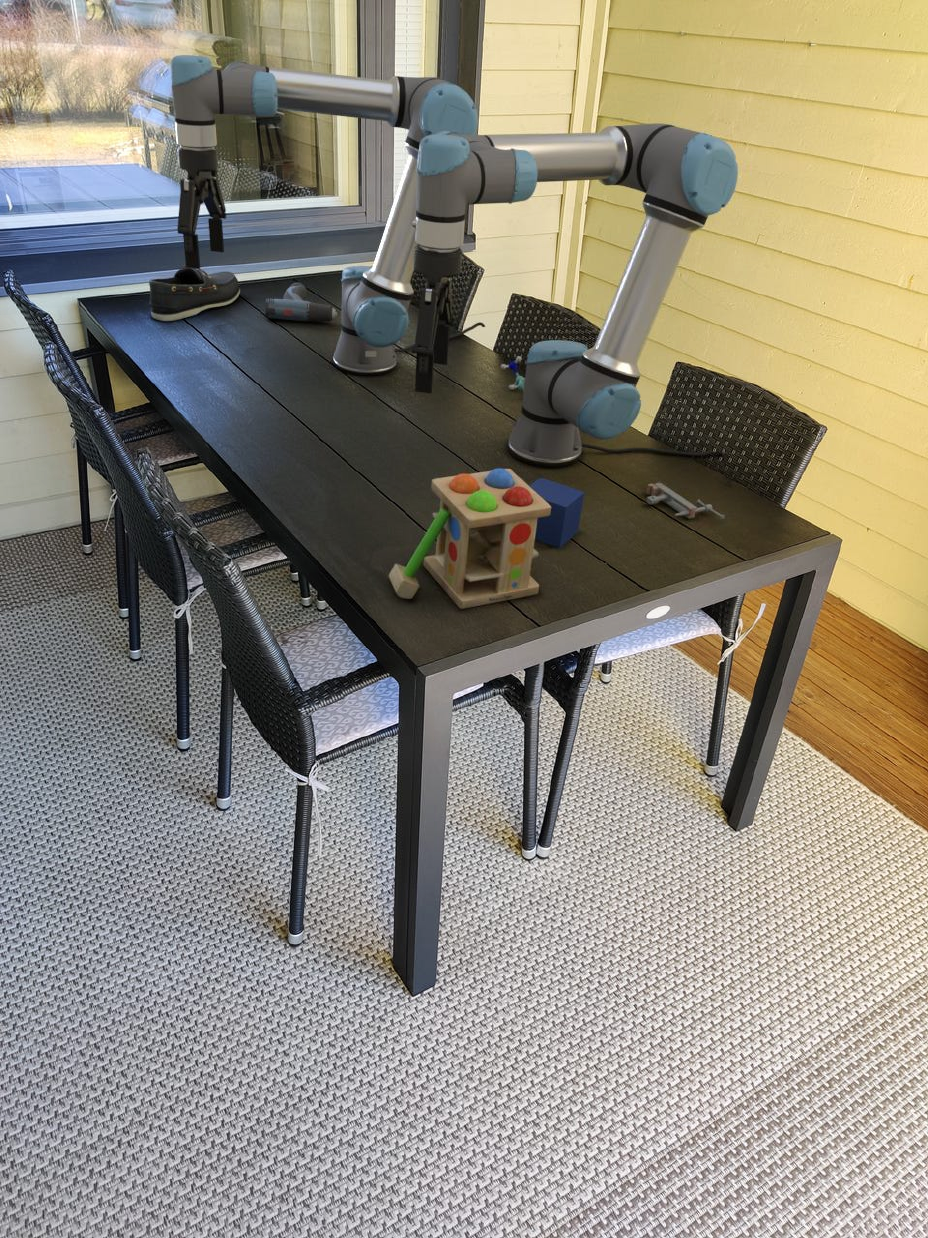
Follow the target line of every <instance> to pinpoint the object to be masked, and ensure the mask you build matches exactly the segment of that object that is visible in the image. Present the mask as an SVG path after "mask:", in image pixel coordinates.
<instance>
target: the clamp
mask: <svg viewBox="0 0 928 1238" xmlns="http://www.w3.org/2000/svg"><path fill="white" fill-rule="evenodd" d="M645 494H646V495H647V497H646V499H645V501H646V503H647V504H648V505H650V506H651V505H656V504H659V503H660V502H663V503H664V504H667V505H668V506H670V507H671V508H672V509H674V510H675V511H677V513H674V514H673V515H674V517H675V518H676V517H683V516H684V517H685V518H687V519H688V520H689V519H694V518H695V517H696V513H700V512H703V513H708V512H711V513H712V514H714V515H715V516H717V517H719V519H720V520H721V521H722V520H724V519H725V518H726V515H725V514H721V513H719V512H717V511H716V510H714V509H713V505H712V504H711V503H708V504H705V503H703V502H702V501H701V499H697V500H696V501H695V503H696V505H700V506H701V507H697V506H696V505H694V504H693V503H692V502H690V501H689V500H687V499H686V498H684V497H683V496H681V495H679V494H678V493H677V492H675V491H674V490H672V489H671V488H669V487H667V486H666V485H665V484H663V483H662V482H656V483H648V484H647V488H646V493H645Z"/></svg>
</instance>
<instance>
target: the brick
mask: <svg viewBox="0 0 928 1238" xmlns="http://www.w3.org/2000/svg"><path fill="white" fill-rule="evenodd" d="M528 486H529V487H530V488H531V489H533V490H534V491H535V492H536V493H537V494H538V495H539V496H541V497H542V498H543V499H544V500H545V501H546V502H547V503H548V504H549V505H550V506H551V512H550V515H549V516H545V517H538V519H537V527H536V534H535V541H538V542H541V543H544V544H546V545H548V546H549V545H550V546H552V547H555V548H558V549H560V548H561V547H563V546H564V545H565V544H566V543H567V542H569V541H570V540H571V539H572V538H574V536H575V535H577V534H579V533H578V532H579V527H580V522H581V515H582V510H583V503H584V498H585V491H582V490H580V489H576V488H574V487H570V486H567V485H564V484H562V483H558V482H557V481H553V480H550V479H547V478H543V477H539V478H538V479H536V480H535V481H534V482H532V483H531V484H530V485H528Z"/></svg>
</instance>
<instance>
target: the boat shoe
mask: <svg viewBox="0 0 928 1238" xmlns="http://www.w3.org/2000/svg"><path fill="white" fill-rule="evenodd" d="M148 285H149V291H150V292H149V302H148V306H151V309H150V313H151V317H152V318H153V319H155V320H157V321H162V322H171V321H172V322H173V321H178V320H182V319H184V318H188V317H192V316H196V315H197V314H199V313H201V312H202V311H205V310H208V309H211V308H217V307H223V306H227V305H230V304H232V303H233V302H235V301H236V300H237V299H238V297H239V296H240V294H241V286H240V285H239V280H238V278H237V277H236V275H235V274H234V273H233V272H231V271H220V272H213V273H210V274H208V273H207V272H206V271H205V270H204V269H202V268H200V269H196V268H187V267H186V265H184V266H183V267H181V268H179V269H178V270H177V271H176V272H175V273H174V274H173V277H172V276H171V277H167V278H166V277H165V278H152V279H150V280H149V281H148Z"/></svg>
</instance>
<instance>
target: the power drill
mask: <svg viewBox="0 0 928 1238" xmlns="http://www.w3.org/2000/svg"><path fill="white" fill-rule="evenodd" d="M307 295H308V290H307V287H306V285H304V284H303V283H301V282H293V283H292V284H291V285H290V286H289V287H288V288H287V289H286V291H285V292H284V294H283V297H282V298H266V299H265V302H264V313H265V314H264V316H265V318H267V319H274V320H275V319H276V320H283V321H294V322H295V321H297V322H332V321H333V320H334V319H336V318H337V317H338V312H337V311H336V308H334V307H333V306H332V305H331V304H324V303H317V302H313V301H307V300H305V299H306V297H307Z"/></svg>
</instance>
